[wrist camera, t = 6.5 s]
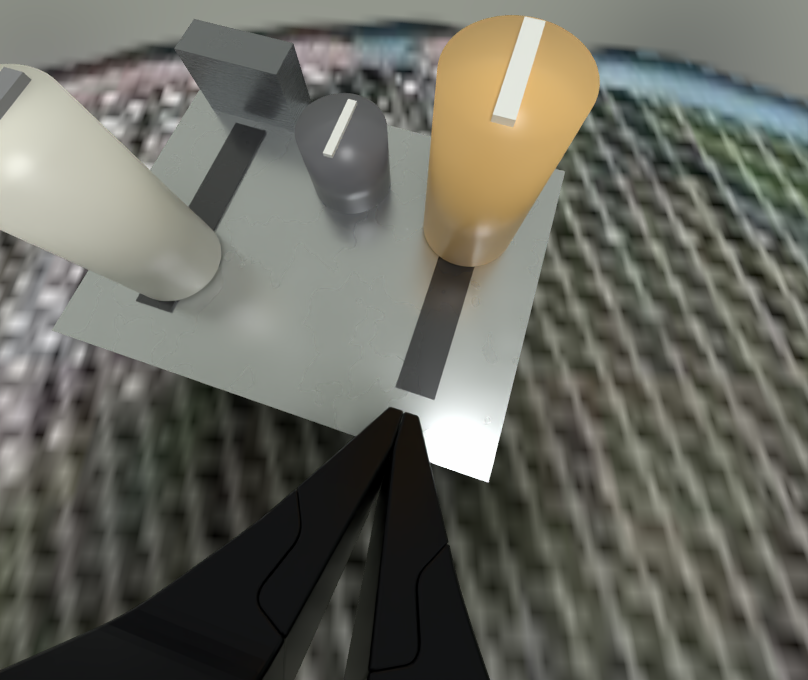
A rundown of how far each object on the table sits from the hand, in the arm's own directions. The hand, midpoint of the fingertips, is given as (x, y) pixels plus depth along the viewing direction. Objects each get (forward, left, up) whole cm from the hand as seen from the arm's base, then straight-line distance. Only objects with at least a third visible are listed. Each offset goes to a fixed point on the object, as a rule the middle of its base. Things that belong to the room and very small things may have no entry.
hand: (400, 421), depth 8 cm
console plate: (+3, +9, -6) cm, 11 cm away
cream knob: (-3, +13, -5) cm, 14 cm away
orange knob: (+8, +5, -5) cm, 11 cm away
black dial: (+6, +11, -5) cm, 13 cm away
